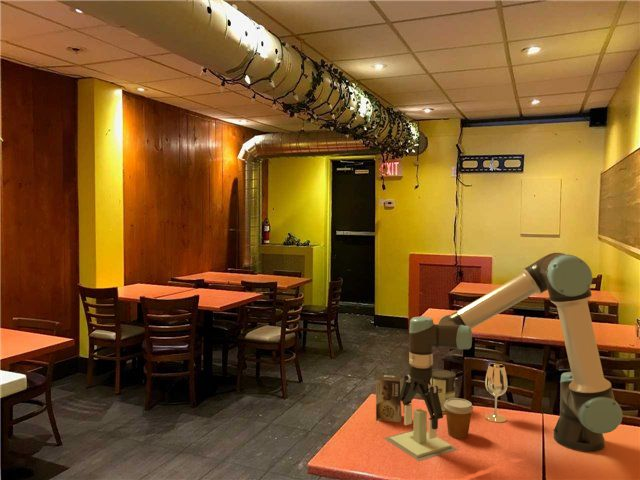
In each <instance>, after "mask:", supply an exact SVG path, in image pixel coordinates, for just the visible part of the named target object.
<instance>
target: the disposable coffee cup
mask: <svg viewBox="0 0 640 480" xmlns="http://www.w3.org/2000/svg"><path fill="white" fill-rule="evenodd" d="M444 407H445V409H446V414H445V418H446V426H447V427H446V428H447V434H448V436H449V437H451V438H453V439H458V440H462V439H467V438H468V437H469V431H470V424H471V416H472V412H473V410H474V406H473V403H472V402H471V401H469V400H467V399H465V398H457V397H455V398H451V399H448V400H446V402H445V404H444Z"/></svg>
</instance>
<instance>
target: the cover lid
mask: <svg viewBox="0 0 640 480" xmlns="http://www.w3.org/2000/svg"><path fill="white" fill-rule="evenodd" d="M427 417H428V412H427V411H426V410H425V409H422V408H418V409H414V410H413V417H412V424H413V426H412V427H413V428H412V429H413V431H412V430H411V431H412V432H409V431H407V432H408V433H405V432H403V433H404V434H401V433H400V434H401V435H397V434H396V435H397V436H393V435H392V436H393V437H390V436H389V437H390V440H391V441H392V442H394V443H395V444H397V445H398V446H400V447H402V448H403V449H405V450H406V451H408V452H409V453H411V454H412V455H414V456H416V457H421V456H424V455H427V454H431V453H434V452H437V451H441V450H444V449H447V448H451V446H452V444H451V443H448V442H446V441H445V440H443V439H441V438H439V437H438V436H437V438H433V439H429V431H427V428H428V427H427V422H428V418H427Z"/></svg>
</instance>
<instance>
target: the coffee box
mask: <svg viewBox="0 0 640 480" xmlns="http://www.w3.org/2000/svg"><path fill="white" fill-rule="evenodd" d="M401 391H402V375H392V374H380V373H379V374H377V376H376V379H375V421H381V422H382V421H384V422H395V423H401V421H402V401H400V400H399V398H400V394H401Z"/></svg>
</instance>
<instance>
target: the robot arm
mask: <svg viewBox="0 0 640 480" xmlns="http://www.w3.org/2000/svg"><path fill="white" fill-rule="evenodd" d="M592 282H593V272H592V270H591V267H590V266H589V265H588V264H587V262H585V261H584V260H583V259H581V258H580V257H578V256H575V255H572V254H565V253H561V252H552V253H549V254H547V255H545V256H542V257H541V258H539V259H538V260H536V261H535V262H533V263H531V264H530V265H528V266H526V267H525V268H523V269H522V272H521V273H520V274H518V275H517V276H515V277H513V278H511V279H510V280H508V281H507V282H505V283H503V284H502V285H499V286H498V287H496V288H494V289H493V290H491V291H489V292H488V293H486V294H484V295H483V296H481V297H480V298H477V299H475V300H474V301H472V302H470V303H469V304H467V305H465V306H463V307H462V308H460V309H458V310H456V311H455V312H453V313H451V314H446V315H443V316H442V317H440V319H439V321H438V324H436V323H434V319H433V318H432V317H429V316H414V317H412V318H411V319H410V320H409V330H408V331H409V334H408V336H409V337H408V340H409V341H408V345H409V347H408V348H409V349H408V351H409V352H408V353H409V354H408V357H409V358H408V359H409V360H408V363H409V366H408V374H407V375H404V378H403V384H402V386H401V394H400V398H399V400H400V401H401V403H402V405H403V420H404V421H403V425H404V426H408V425H409V426H410V425H412V424H413V404H412V401H413V399H414V397H415V396H416V394H419V395H420V396H421V399H423V401H424V404H425V405H426V408H427V411H428V412H427V413H428V414H429V416H430V417H429V418H428V432H429V439H433V438H437V437H438V435H437V431H438V428H439V420H440V419H443V418H444V414H443V413H442V409H441V404H440V400H439V396H438V386H433V385H431V383H430V380H431V378H432V373H433V370H434V369H433V364H434V357H433V356H434V355H433V354H434V349H435V348H436V349H449V350H471V348H472V343H473V334H472V333H473V332H472V329H474V328H475V327H477V326H479V325H480V324H483V323H485V322H486V321H488V320H490V319H491V318H493V317H495V316H498V315H499V314H500V313H502V312H504V311H506V310H507V309H510V308H511V307H513V306H515V305H516V304H518V303H521V301H524V300H525V299H527V298H529V297H531V296H532V295H534V294H539V295H541V294H542V293H544V292H546V291H547V292H548V297H549V301H550V302H551V303H553V305H555V306H556V308H557V313H558V318H559V323H560V327H561V331H562V336H563V341H564V344H565V345H564V346H565V349H566V354H567V360H568V363H569V367H570V368H569V369H570V371H567V372H563V373H561V375H560V381H559V383H560V387H559V388H560V391H559V392H560V394H559V396H560V397H559V399H560V401H559V416H558V420H557V422H556V423H555V426H554V429H553V440H554V441H555V442H557V444H558V445H561V446H563V447H566V448H568V449H571V450H573V451H574V450H575V451H579V452H588V453H589V452H592V453H593V452H600V451H603V450H604V448H605V437H604V434H608V433H611V432H613V431H615V430H616V429H617V428H618V426H620V425H621V424H622V421H623V409H622V408H621V405H620V404H619V403H618V402H617V401H616V400H615V395H614V392H613V386H612V383H611V382H610V380H608V379H606V378H605V377H604V372H603V371H604V370H603V366H602V362H601V358H600V353H599V349H598V348H599V347H598V345H597V344H598V343H597V341H596V340H597V339H596V335H595V331H594V327H593V326H594V325H593V321H592V316H591V313H590V307H589V304H588V302H589V301H590V298H592V297H593V296H592V290H591V285H592Z"/></svg>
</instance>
